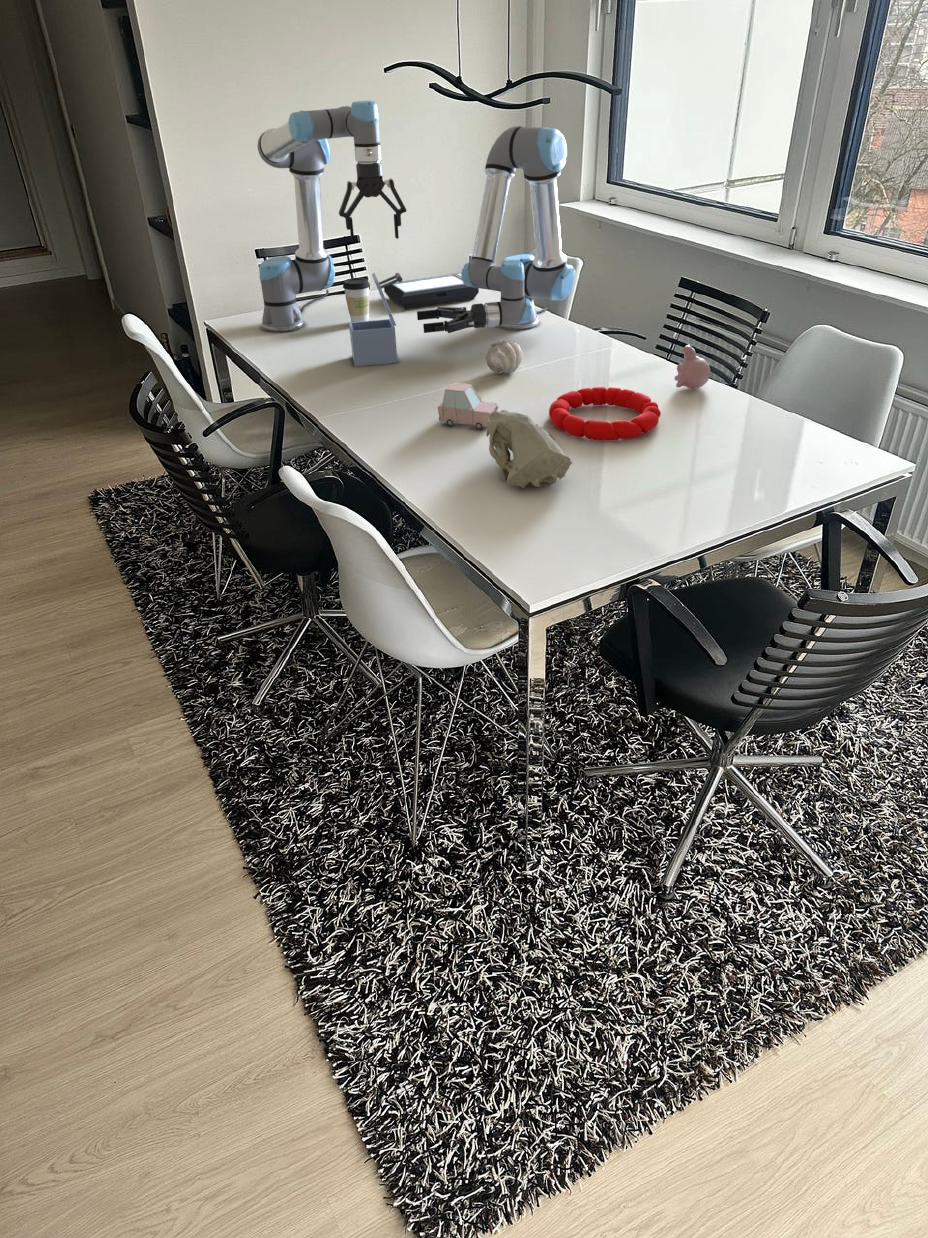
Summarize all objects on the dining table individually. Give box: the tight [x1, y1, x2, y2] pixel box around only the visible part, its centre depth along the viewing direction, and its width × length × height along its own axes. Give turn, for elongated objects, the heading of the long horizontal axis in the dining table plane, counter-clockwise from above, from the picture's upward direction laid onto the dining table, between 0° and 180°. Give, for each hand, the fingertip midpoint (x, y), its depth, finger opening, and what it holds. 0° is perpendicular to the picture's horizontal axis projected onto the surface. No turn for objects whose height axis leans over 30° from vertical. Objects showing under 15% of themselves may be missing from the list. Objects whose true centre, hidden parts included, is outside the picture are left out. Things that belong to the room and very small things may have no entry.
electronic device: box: [383, 273, 480, 311], centre depth 349 cm, size 32×6×20 cm
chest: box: [348, 318, 398, 367], centre depth 290 cm, size 14×10×11 cm
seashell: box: [485, 339, 523, 374], centre depth 276 cm, size 10×15×10 cm
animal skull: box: [485, 409, 573, 489], centre depth 216 cm, size 17×25×20 cm
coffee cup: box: [342, 277, 371, 322], centre depth 323 cm, size 10×10×15 cm
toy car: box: [437, 382, 499, 431], centre depth 243 cm, size 9×15×10 cm, turn 70°
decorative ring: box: [548, 386, 661, 442], centre depth 242 cm, size 7×30×30 cm
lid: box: [371, 272, 403, 327], centre depth 283 cm, size 15×10×8 cm
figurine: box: [674, 344, 711, 390], centre depth 259 cm, size 9×11×12 cm
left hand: (374, 239), depth 272 cm, fingers open, 13 cm apart
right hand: (420, 321), depth 288 cm, fingers open, 13 cm apart
